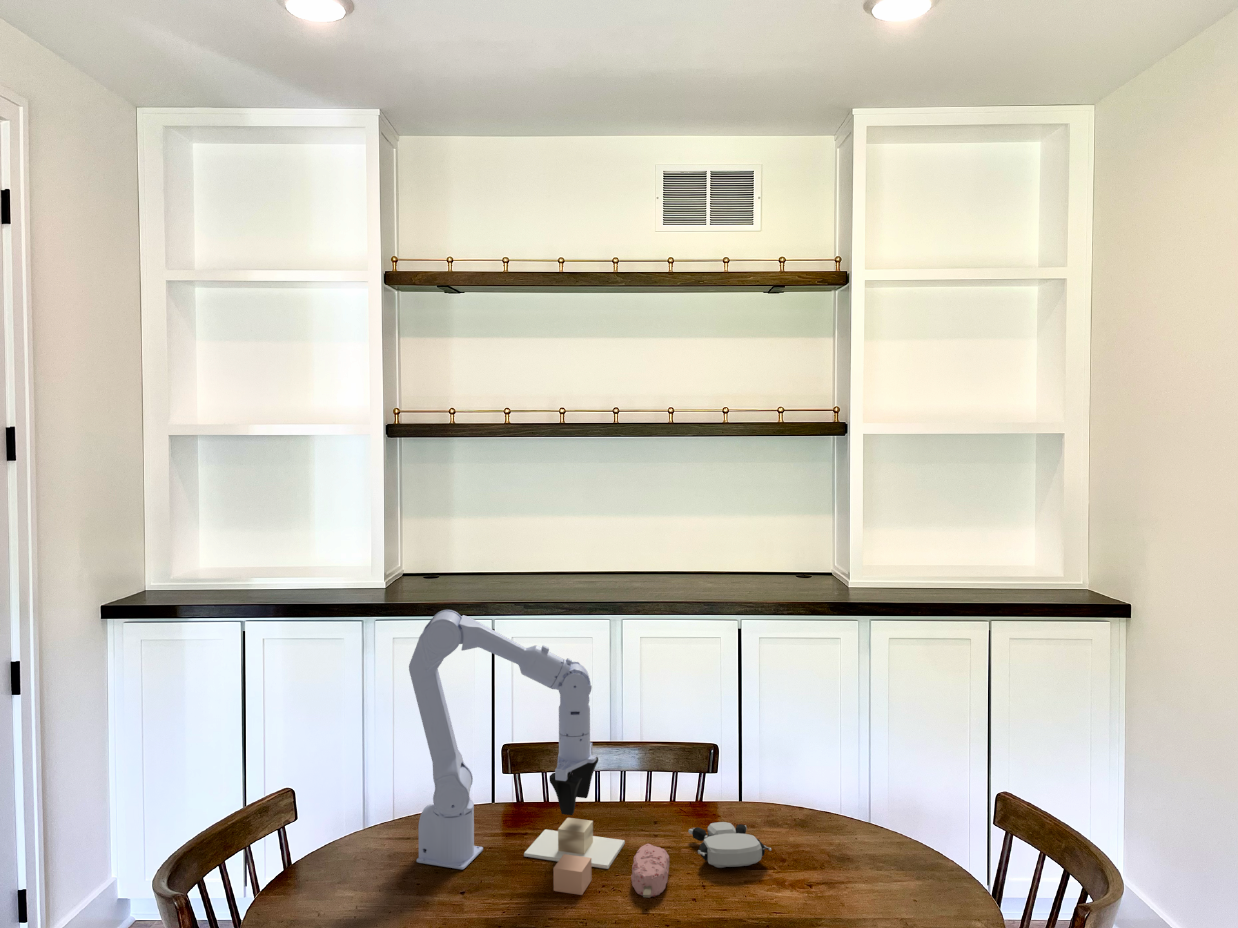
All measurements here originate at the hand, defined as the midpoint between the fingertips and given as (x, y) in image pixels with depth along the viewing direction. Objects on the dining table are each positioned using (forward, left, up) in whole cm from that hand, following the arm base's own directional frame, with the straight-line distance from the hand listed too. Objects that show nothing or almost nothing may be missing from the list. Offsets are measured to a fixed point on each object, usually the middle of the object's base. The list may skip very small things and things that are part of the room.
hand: (574, 805), depth 156 cm
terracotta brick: (+4, -12, -9) cm, 15 cm away
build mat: (0, 0, -8) cm, 8 cm away
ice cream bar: (+16, -7, -9) cm, 20 cm away
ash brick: (0, 0, -8) cm, 8 cm away
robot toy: (+27, +6, -9) cm, 29 cm away
